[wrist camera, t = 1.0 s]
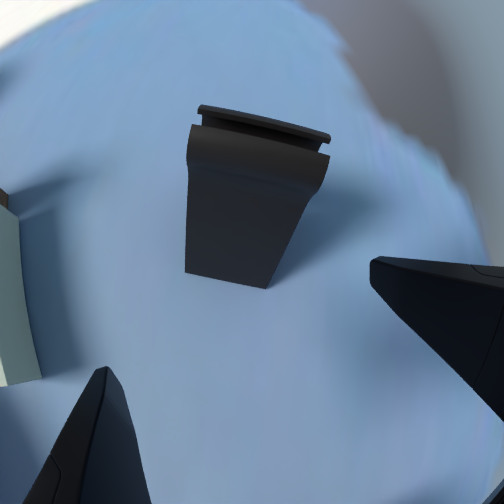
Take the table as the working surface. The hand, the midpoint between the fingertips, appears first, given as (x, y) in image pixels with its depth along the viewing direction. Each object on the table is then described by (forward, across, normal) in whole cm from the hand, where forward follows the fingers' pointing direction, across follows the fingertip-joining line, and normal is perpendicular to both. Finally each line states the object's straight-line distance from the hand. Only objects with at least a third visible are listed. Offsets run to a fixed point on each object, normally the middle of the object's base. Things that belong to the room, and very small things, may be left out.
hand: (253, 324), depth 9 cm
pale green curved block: (+16, +15, +2) cm, 22 cm away
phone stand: (+15, -4, +2) cm, 16 cm away
